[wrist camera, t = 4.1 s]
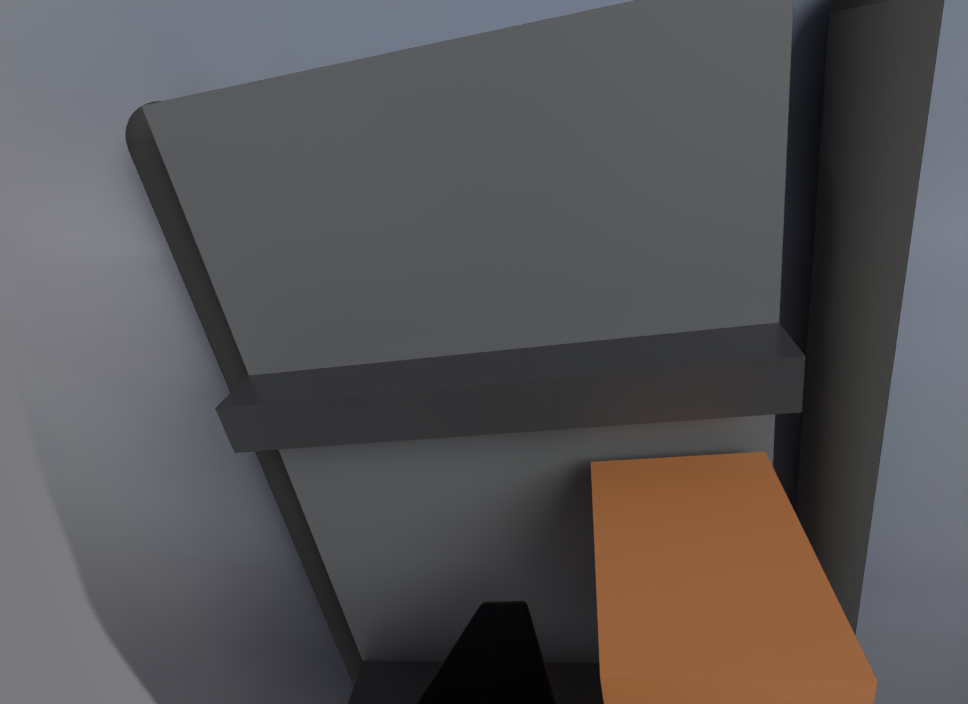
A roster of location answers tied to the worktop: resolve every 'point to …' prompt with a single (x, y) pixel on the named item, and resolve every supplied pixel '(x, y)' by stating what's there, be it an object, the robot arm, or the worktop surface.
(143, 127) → the dark grey rod
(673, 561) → the orange block
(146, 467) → the worktop surface
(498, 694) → the robot arm
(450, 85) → the panel
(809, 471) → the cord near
